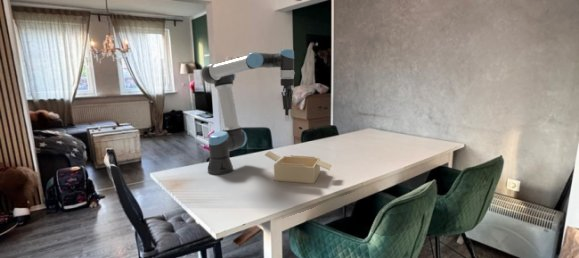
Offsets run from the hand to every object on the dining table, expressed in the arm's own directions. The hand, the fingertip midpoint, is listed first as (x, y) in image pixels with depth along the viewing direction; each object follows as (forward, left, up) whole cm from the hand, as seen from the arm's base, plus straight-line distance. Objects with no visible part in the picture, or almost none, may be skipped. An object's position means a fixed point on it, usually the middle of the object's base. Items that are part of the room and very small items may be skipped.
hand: (287, 120), depth 175 cm
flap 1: (-9, -2, -20) cm, 22 cm away
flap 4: (+21, -2, -23) cm, 32 cm away
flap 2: (+6, -15, -20) cm, 26 cm away
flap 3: (+6, +11, -23) cm, 26 cm away
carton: (+6, -2, -32) cm, 32 cm away
